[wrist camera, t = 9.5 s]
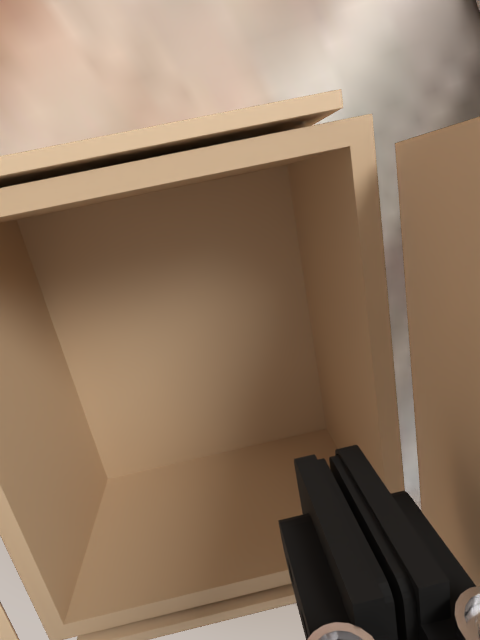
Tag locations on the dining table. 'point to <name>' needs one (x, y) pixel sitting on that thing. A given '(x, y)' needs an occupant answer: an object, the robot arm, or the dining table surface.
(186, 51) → the dining table surface
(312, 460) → the robot arm
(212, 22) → the dining table surface
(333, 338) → the carton
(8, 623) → the flap
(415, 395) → the flap
